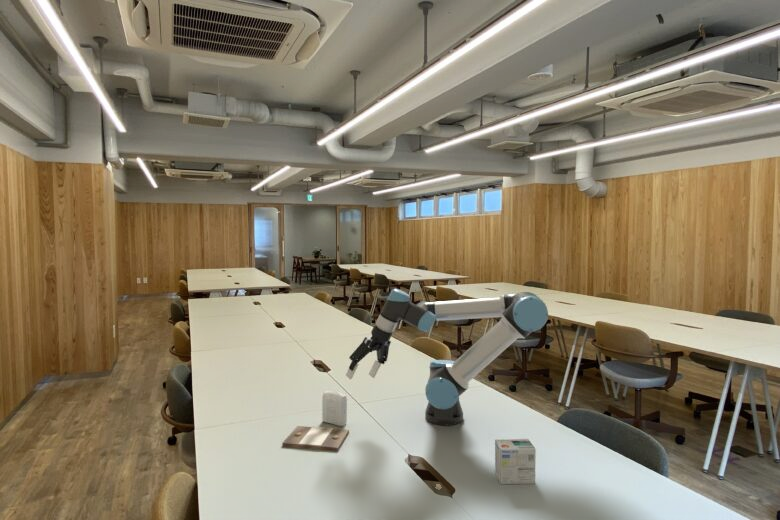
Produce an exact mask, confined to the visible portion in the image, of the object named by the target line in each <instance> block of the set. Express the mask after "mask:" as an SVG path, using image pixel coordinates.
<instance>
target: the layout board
mask: <svg viewBox="0 0 780 520" xmlns="http://www.w3.org/2000/svg"><path fill="white" fill-rule="evenodd" d="M349 434H350V429H345V428H344V429H343V428H342V429H341V428H334V427H326V426H317V425H316V426H303V425H297V426H296V427H295V428H294V429H293V430H292V432H291V433H290V434H289V435H288V436H287V437H286V438H285V439H284V440H283V441H282V443H281V445H282V447H285V448H296V447H297V448H300V449H307V450H309V449H310V450H318V451H319V450H321V451H331V452H332V451H335V452H339V450H340V449H341V447H342V445H343V444H344V442H345V441H346V439H347V437H348V436H349ZM297 448H296V449H297Z"/></svg>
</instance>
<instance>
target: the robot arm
mask: <svg viewBox="0 0 780 520" xmlns="http://www.w3.org/2000/svg"><path fill="white" fill-rule="evenodd" d="M489 318H492V319H493V318H500V319H499V321H498V322H497V323H496V324H495V325H493V327H491V328H490V329H489V330H488V331H487V332H486V333H485V334H484V335H483V336H481V337H480V338H479V339H478V340H477V341H476V342H475V343H473V344H472V345H471V346H470V347H469V348H468V349H467V350H465V352H464V353H462V355H460V356H459V357H458V358H456V360H449V359H448V360H447V359H434V360H432V361H431V360H430V364H429V376H428V379H427V383H426V385H425V397H426V400H427V401H428V403H427V406H426V409H425V411H424V412H425V416H424V417H425V420H426V421H428V422H429V423H432V424H434V425H439V426H454V425H458V424H461V422H463V421H464V411H463V408H462V404H461V401H460V396H461V395H462V394H463V393H465V392H466V391H467V390H468V389H469V382H470V381H472V379H474V378H475V377H476V376H477V375H479V373H481V372H482V371H483V370H484V369H485V368H487V366H488V365H489V364H491V363H492V362H493V361H494V360H495V359H496V358H498V356H499V355H501V354H502V353H503V352H504V351H505V350H506V349H508V347H510V346H512V344H513V343H514V342H515V341H517V340H518V339H526V338H527V337H528V336H529V335H530V334H531V333H532V332H536V331H538V330H541V329H542V328H543V327H544V326H545V324H546V323H547V321H548V318H549V310H548V306H547V305H546V303H545V302H544V300H542V299H541V298H540V297H539V296H537V294H534V293H533V292H529V291H521V292H520V291H519V292H515V293H506V294H501V295H500V296H499V297H488V298H487V297H486V298H472V299H457V300H444V301H442V300H441V301H440V300H439V301H430V302H429V301H424V300H423V301H420V302H418V303H416V304H415V303H413V302H412V301H411V296H410V295H409V294H408V293H407V292H406V291H404V290H401V289H399V288H393V289H391V291H390V292H389V295H388V297H387V298H386V300H385V303H384V305H383V307H382V309H381V311H380V314H379V316H378V318H377V319H376V321H375V324H374V325H373V327H372V329H371V332H370V333H371V337H370V338H368V337H367V336H365V337H364V338H363V340H362V341H361V343H360V344H359V345H358V347H357V348H355V350H354V351H353V353H351V355H349V357H348V359H350V360H351V362H350V365H349V366H348V369H347V371H346V372H345V377H347V378H348V379H349V380H352V379H353V377H354V375H355V373H356V371H357V369H358V368H359V365H360V364H359V362H361V361H362V360H363V359H364V358H365V357H366V356H367V355H368V354H370V353H372V352H374V351H376V358H377V359H375V361H374V362H373V364H372V366H371V369H370V371H369V372H368V376H370V377H371V378H372V379H375V377H376V375H377V373H378V371H379V369H380V368H381V366H382V365H385V363H386V362H387V361H388V356H389V350H390V345H391V343H392V341H391V340H390V339H391V337H392V335H393V333H394V331H395V330H396V328H397V326H398V324H399V322H400V320H401V321H403V322H404V323H407V324H408V325H410V326H413V327H414V328H416V329H417V330H419V331H422V332H424V333H429V332H430V331H431V330H432V327H433V326H434V324H435V322H436V321H437V322H438V321H439V322H440V321H453V320H454V321H455V320H469V319H470V320H473V319H489Z"/></svg>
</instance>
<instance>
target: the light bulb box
mask: <svg viewBox="0 0 780 520" xmlns="http://www.w3.org/2000/svg"><path fill="white" fill-rule="evenodd" d="M536 450H537V449H536V447H535V446H534V444H533V443H532V442H531V440H530V439H529V438H518V439H517V438H516V439H510V438H509V439H494V453H495V454H494V472H495V473H494V474H495V476H496V478H497V480H498V482H499V484H500V485H517V484H519V485H523V484H525V485H528V484H529V485H530V484H534V485H535V484H536V456H537V455H536Z"/></svg>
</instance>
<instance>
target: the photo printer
mask: <svg viewBox="0 0 780 520" xmlns="http://www.w3.org/2000/svg"><path fill="white" fill-rule="evenodd" d="M321 402H322V403H321V404H322V405H321V407H322V410H321V411H322V413H321V414H322V415H321V418H322V422H325V423H328V424H330V425H331V424H332V425H335V426H339V427H344V426H346V424H347V421H348V420H347V417H348V415H347V413H348V412H347V411H348V407H347V405H348V403H347V402H348V399H347V396H346V395H345V394H344V393H342V392H339V391H335V390H326V391H325V392H323V394H322V400H321Z"/></svg>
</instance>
